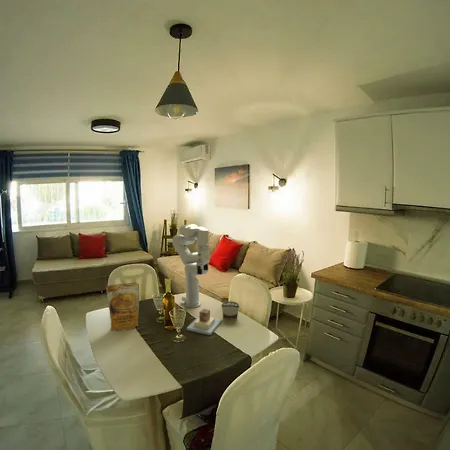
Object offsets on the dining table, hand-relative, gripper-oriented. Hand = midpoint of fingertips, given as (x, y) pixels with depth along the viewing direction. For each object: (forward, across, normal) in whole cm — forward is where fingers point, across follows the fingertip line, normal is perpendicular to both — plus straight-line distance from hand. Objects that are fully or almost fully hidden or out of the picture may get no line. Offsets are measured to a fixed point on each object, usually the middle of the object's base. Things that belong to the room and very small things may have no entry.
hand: (202, 272), depth 194 cm
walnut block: (+26, -14, -8) cm, 31 cm away
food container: (+31, +4, -19) cm, 36 cm away
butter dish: (+30, -14, -8) cm, 34 cm away
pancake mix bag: (+31, -35, +37) cm, 59 cm away
